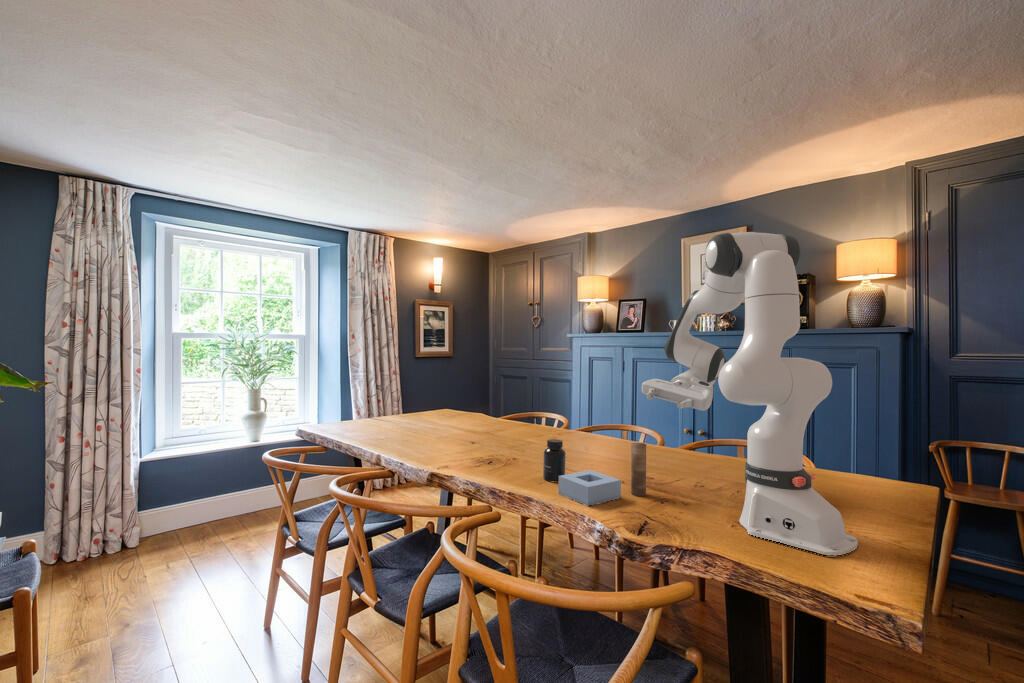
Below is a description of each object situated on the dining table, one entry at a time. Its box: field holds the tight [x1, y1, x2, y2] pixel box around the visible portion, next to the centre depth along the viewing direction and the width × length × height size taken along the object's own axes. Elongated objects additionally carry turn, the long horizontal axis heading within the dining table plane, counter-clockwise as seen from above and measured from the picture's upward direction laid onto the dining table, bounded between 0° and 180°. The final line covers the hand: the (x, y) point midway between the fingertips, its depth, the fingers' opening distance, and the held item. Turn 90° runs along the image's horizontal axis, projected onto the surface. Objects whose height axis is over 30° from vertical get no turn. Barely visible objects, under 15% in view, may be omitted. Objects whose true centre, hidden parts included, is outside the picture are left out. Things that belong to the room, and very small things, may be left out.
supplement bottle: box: [542, 438, 567, 482], centre depth 143 cm, size 7×7×12 cm
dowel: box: [630, 442, 647, 497], centre depth 129 cm, size 4×4×14 cm
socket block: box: [558, 469, 622, 507], centre depth 127 cm, size 12×12×5 cm
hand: (663, 401), depth 133 cm, fingers open, 8 cm apart
